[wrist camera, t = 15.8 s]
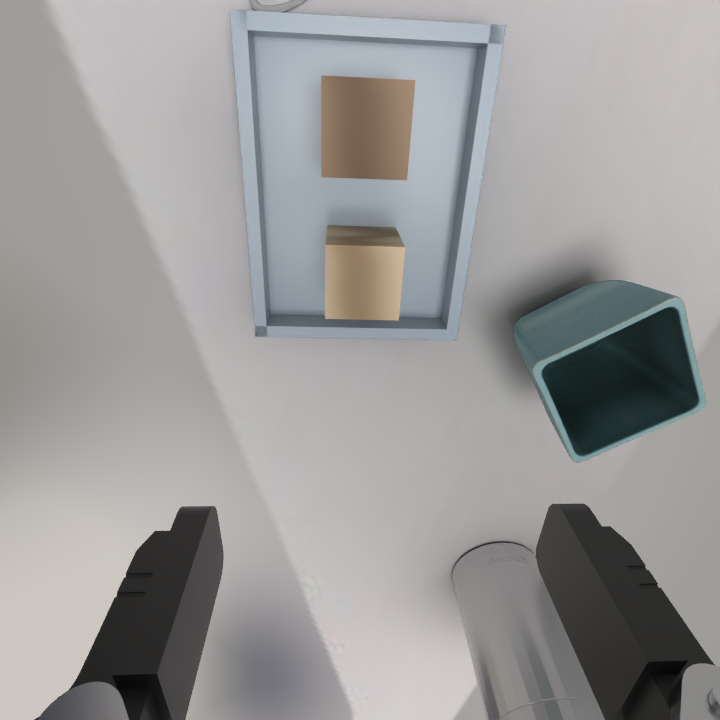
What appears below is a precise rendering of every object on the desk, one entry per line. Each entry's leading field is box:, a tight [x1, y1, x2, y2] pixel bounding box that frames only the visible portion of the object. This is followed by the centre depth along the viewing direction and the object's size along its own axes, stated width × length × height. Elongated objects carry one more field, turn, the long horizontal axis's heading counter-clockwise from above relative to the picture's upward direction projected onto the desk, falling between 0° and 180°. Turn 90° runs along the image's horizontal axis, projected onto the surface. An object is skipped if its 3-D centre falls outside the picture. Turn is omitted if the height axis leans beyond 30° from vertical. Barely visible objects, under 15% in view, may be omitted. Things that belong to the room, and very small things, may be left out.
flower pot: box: [513, 280, 707, 463], centre depth 31 cm, size 9×9×9 cm
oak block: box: [325, 225, 405, 321], centre depth 29 cm, size 4×4×5 cm
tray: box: [230, 10, 506, 340], centre depth 28 cm, size 18×14×3 cm
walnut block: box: [321, 75, 416, 180], centre depth 25 cm, size 4×4×5 cm
